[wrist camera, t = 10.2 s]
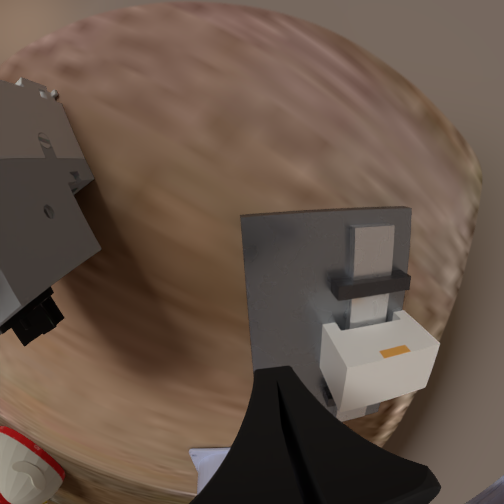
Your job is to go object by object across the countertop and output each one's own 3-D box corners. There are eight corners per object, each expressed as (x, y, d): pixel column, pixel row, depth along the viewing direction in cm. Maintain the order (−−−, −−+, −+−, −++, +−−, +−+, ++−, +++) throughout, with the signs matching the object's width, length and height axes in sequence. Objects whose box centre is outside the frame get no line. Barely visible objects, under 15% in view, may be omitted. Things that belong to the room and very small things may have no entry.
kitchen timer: (48, 479, 28) (28, 533, 14) (-8, 432, 25) (-38, 484, 10) (78, 474, 27) (56, 544, 12) (8, 419, 23) (-30, 485, 9)
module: (395, 350, 21) (425, 387, 16) (319, 367, 21) (339, 412, 16) (403, 309, 20) (440, 343, 15) (322, 324, 20) (347, 367, 15)
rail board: (373, 405, 24) (383, 421, 22) (258, 427, 24) (260, 446, 21) (404, 206, 19) (423, 211, 16) (240, 214, 18) (241, 221, 16)
